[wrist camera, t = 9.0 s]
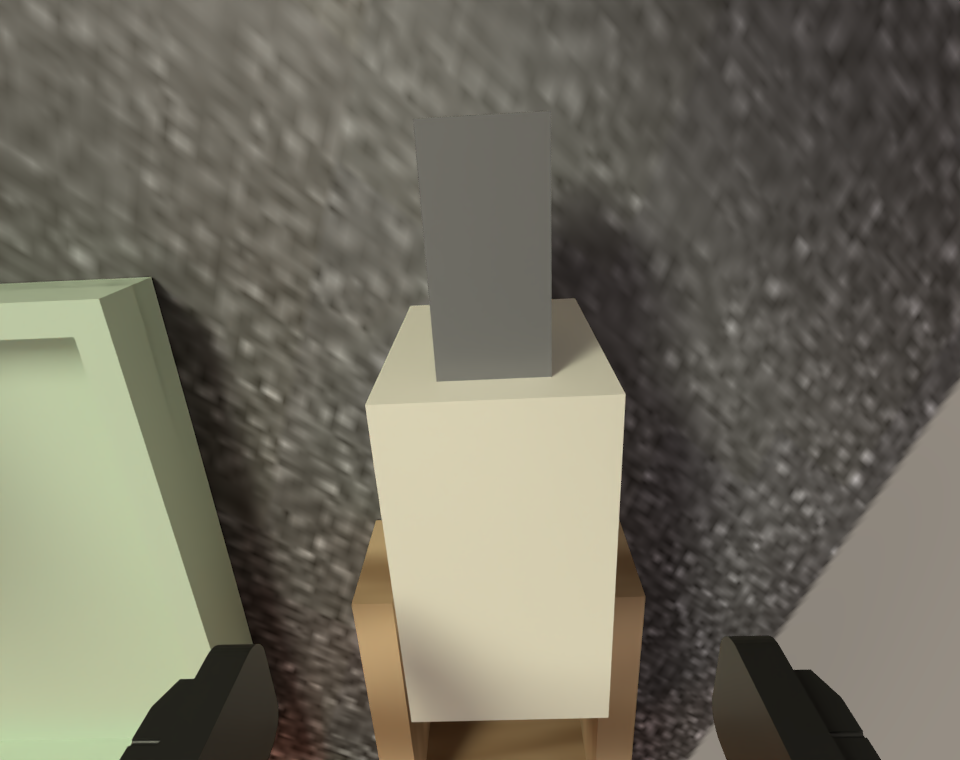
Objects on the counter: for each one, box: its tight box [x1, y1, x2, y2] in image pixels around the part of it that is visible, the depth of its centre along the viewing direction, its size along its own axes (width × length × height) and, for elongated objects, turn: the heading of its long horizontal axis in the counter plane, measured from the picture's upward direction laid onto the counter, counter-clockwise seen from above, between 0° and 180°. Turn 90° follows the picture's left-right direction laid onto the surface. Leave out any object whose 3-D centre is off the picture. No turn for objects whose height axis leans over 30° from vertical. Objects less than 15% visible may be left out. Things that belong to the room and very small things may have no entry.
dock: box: [352, 520, 645, 760], centre depth 21 cm, size 11×9×4 cm
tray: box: [0, 277, 253, 760], centre depth 20 cm, size 20×14×2 cm
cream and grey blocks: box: [365, 111, 626, 722], centre depth 15 cm, size 14×5×7 cm, turn 3°
